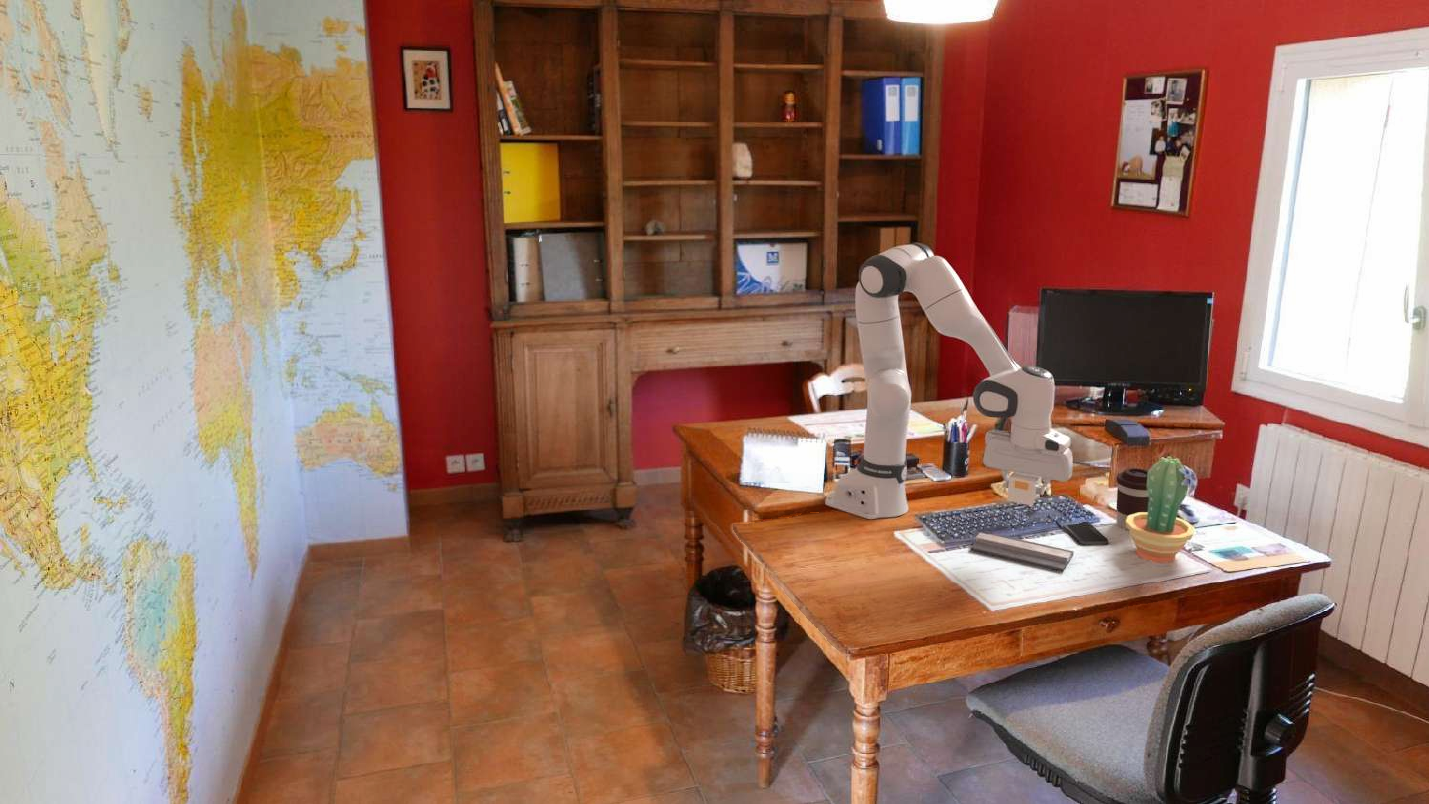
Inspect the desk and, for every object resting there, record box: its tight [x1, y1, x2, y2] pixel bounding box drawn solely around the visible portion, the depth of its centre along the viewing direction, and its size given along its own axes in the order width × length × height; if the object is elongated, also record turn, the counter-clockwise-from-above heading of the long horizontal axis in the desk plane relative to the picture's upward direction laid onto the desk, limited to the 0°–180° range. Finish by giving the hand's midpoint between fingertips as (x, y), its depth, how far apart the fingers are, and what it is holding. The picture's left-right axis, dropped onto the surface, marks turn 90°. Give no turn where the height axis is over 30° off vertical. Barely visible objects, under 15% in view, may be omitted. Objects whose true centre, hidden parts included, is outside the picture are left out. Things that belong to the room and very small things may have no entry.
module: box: [1006, 472, 1043, 507], centre depth 231 cm, size 6×6×6 cm
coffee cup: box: [1115, 467, 1149, 531], centre depth 251 cm, size 10×10×15 cm
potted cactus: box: [1126, 455, 1198, 564], centre depth 234 cm, size 15×15×25 cm
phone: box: [1062, 520, 1110, 546], centre depth 249 cm, size 8×1×15 cm
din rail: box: [970, 532, 1075, 574], centre depth 237 cm, size 22×11×2 cm, turn 59°
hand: (1024, 490), depth 231 cm, fingers closed on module, 6 cm apart
